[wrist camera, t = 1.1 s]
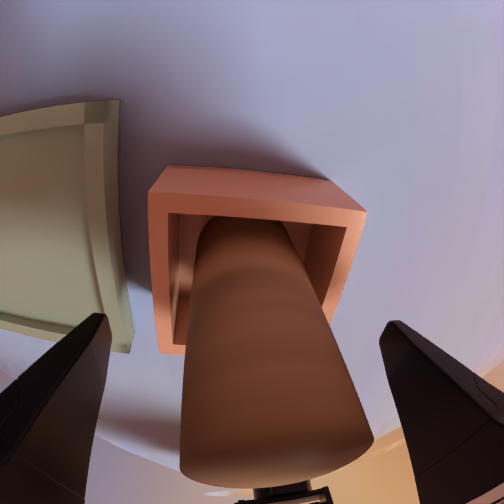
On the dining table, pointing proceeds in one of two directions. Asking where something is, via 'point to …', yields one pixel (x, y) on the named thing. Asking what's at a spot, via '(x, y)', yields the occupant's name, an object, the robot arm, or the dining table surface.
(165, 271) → the holder
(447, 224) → the dining table surface
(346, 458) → the dowel
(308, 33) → the dining table surface
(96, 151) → the tray
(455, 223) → the dining table surface
